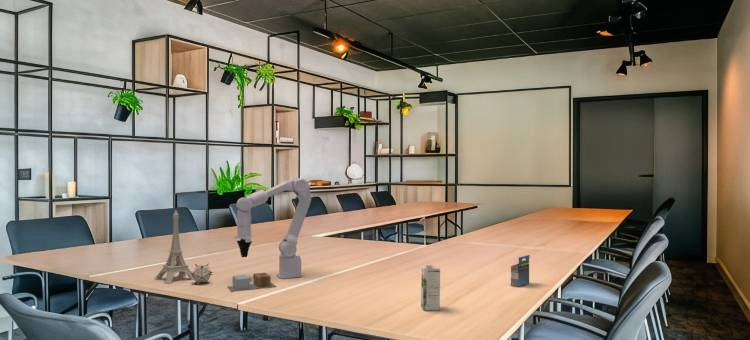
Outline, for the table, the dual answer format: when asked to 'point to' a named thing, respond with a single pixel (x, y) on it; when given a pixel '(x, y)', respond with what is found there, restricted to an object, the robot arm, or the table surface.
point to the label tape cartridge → (520, 272)
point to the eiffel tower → (175, 258)
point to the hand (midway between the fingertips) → (244, 256)
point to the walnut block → (262, 279)
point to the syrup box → (430, 287)
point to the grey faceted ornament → (201, 273)
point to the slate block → (241, 282)
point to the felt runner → (252, 286)
